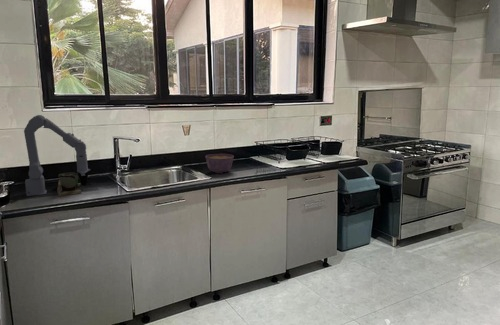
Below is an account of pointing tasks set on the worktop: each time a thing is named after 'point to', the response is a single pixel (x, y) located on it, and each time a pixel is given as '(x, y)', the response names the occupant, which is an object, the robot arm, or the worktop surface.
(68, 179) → the food container
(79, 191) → the tan piece
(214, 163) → the bowl of food
